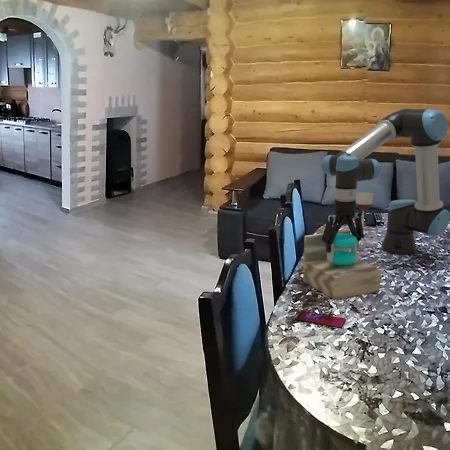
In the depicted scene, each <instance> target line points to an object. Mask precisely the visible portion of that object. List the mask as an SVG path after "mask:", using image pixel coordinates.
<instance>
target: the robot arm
mask: <svg viewBox="0 0 450 450" xmlns="http://www.w3.org/2000/svg"><path fill="white" fill-rule="evenodd" d="M447 131H448V120H447V117H446V115H445V114H444V113H443V112H442V111H441V110H438V109H432V108H428V109H427V108H426V109H424V108H423V109H422V108H421V109H420V108H416V109H415V108H403V109H402V108H401V109H399V110H396V111H394V112H392V113H390V114H388V115H386V116H385V117H383V118H381V119H380V120H379V121H377V122H376V124H375V126H374V127H373V128H371V129H370V130H369V131H368V132H366V133H364V134H363V135H362V136H361V137H359V138H357V139H356V140H355V141H354V142H352V143H351V144H349V145H348V146H347V147H345V148H344V149H343V150H341V151H340V152H338V153H337V154H336V155H333V154H332V155H330V154H329V155H326V156H325V157H324V158H323V159H322V161H321V170H322V172H323V173H324V174H326V175H330V176H333V177H334V176H335V186H334V202H333V203H334V204H333V208H334V214H333V215H329V214H328V215H326V223H325V226H324V230H323V236H322V240H321V241H322V242H324V243H326V252H327V260H329V261H331V262H333V253H334V244H332V242H333V240H334V238H335V237H336V235H337V233H338V231H340V229H342V227H343V226H347V227H348V230H349V231H350V234H351V235H354V236H355V237H356V238H357V243H356V244H355V245H354V246H351V247H350V252H351V253H353V254H354V255H355V257H356V259H358V249H359V247H360V242H361V241H362V239H364V238H365V234H364V233H363V230H364V226H363V227H362V213H361V212H359V211H356V209H357V208H356V207H357V205H356V193H358V192H357V190H358V183H359V182H362V181H371V180H373V179H376V178H378V177H379V175H380V173H381V165H380V162H379V161H377V159H374V158H367V157H368V156H369V155H370V154H372V153H373V152H374V151H376V150H378V148H380V147H382V146H383V145H384V144H385V143H387V142H392V141H393V140H395V139H398V138H405V139H410V146H412V147H413V148H414V153H415V155H414V156H415V158H414V159H415V173H416V189H417V200H415V199H396V200H392V201H390V202H389V203H388V209H387V223H386V231H385V235H384V237H383V241H382V242H381V247H380V248H381V250H382V251H383V252H386V253H389V254H395V255H411V254H412V255H413V254H415V253H416V252H417V243H416V241H415V236H414V235H415V234H414V232H416V233H420V234H425V235H428V236H435V237H436V236H437V237H439V236H441V235H442V234H444V232H445V231H446V230H447V228H448V227H449V224H450V212H449V210H448V209H444V202H443V201H442V200H440V179H439V154H438V153H439V152H438V151H439V149H438V146H439V145H440V144H441V143H442V140H443V139H444V138H445V137H446V135H447ZM353 219H354V220H353Z"/></svg>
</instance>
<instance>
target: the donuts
mask: <svg viewBox="0 0 450 450" xmlns="http://www.w3.org/2000/svg"><path fill="white" fill-rule="evenodd" d="M356 243H357V238H356V237H355V236H354V235H352V234H351V233H350V234H346V233H337V235H336V237H335V238H334V240H333V242H332V244H334V246H337V247H349V248H351V246H354V245H355V244H356ZM356 259H357V258H356V257H355V255H354V254H353V253H351V251H349V252H348V251H343V250H338V251H334V253H333V262H331V261H330V262H331V263H334V264H337V265H350V264H353V263H354V262H355V261H356Z"/></svg>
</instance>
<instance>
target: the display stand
mask: <svg viewBox="0 0 450 450" xmlns="http://www.w3.org/2000/svg"><path fill="white" fill-rule="evenodd" d="M323 233H324V232H323ZM323 233H315V234H310V235H304V240H303V241H304V244H303V268H302V269H303V270H302V282H304V283H306V284H307V285H309V286H310V285H311V287H313V288H314V289H316V290H317V291H319V292H321V293H322V294H324V295H325V296H327V297H329V298H331V299H332V300H338V299H343V298H349V297H353V296H358V295H364V294H368V293H369V294H370V293H375V292H378V291H380V287H381V275H382V269H380V268H378V266H376V265H371V264H369V263H367V262H364V261H362V260H360V259H358V258H356V261H355V262H354V263H353V264H350V265H337V264H334V263H331V262H330V261H329V260H327V252H326V243H324V242H322V241H321V240H322V236H323ZM338 233H346V234H351V231H350V229H345V230H339V231H338ZM338 250H343V251H348V252H350V247H337V246H334V251H338Z"/></svg>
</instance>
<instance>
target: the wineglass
mask: <svg viewBox="0 0 450 450" xmlns="http://www.w3.org/2000/svg"><path fill="white" fill-rule="evenodd" d="M355 201H356V207H357V209H359V210H361V211H362V213H361V214H362V216H361V221H362V227H363V228H364V218H365V211H367V210H369V209H370V208H371V207H372V204H373V201H374V193H372V192H365V191H364V192H363V191H361V192H360V191H359V192H356V199H355ZM363 233H367V234H369V233H368V230H366V231H365V230H364V229H363Z"/></svg>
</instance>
